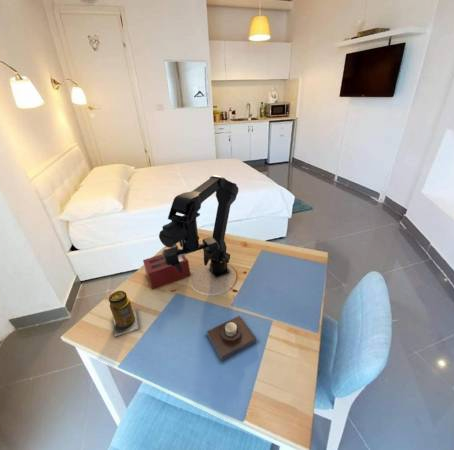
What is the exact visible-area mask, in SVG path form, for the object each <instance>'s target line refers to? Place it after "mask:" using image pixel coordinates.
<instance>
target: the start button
mask: <svg viewBox="0 0 454 450" xmlns="http://www.w3.org/2000/svg"><path fill="white" fill-rule="evenodd" d="M225 333H226V335H227V336H234V335H236V333H237V326H236V324H235V323H232V322H230V323H227V324H226V326H225Z"/></svg>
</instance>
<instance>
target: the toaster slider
mask: <svg viewBox="0 0 454 450" xmlns="http://www.w3.org/2000/svg"><path fill="white" fill-rule="evenodd" d="M170 248H174V249H175V251H178V249H179V246H178V243H176V244H175V245H174V246H172V247H170Z"/></svg>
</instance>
